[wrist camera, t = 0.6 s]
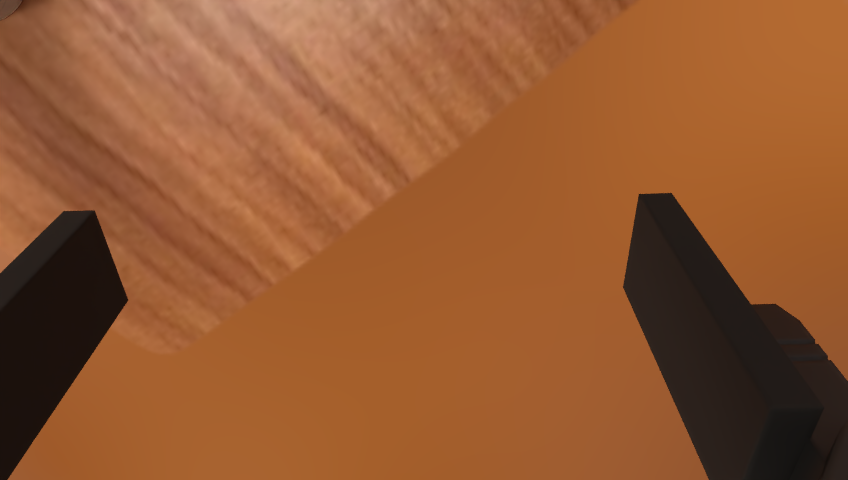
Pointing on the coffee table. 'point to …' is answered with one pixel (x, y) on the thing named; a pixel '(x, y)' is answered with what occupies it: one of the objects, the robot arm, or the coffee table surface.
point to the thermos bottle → (8, 7)
